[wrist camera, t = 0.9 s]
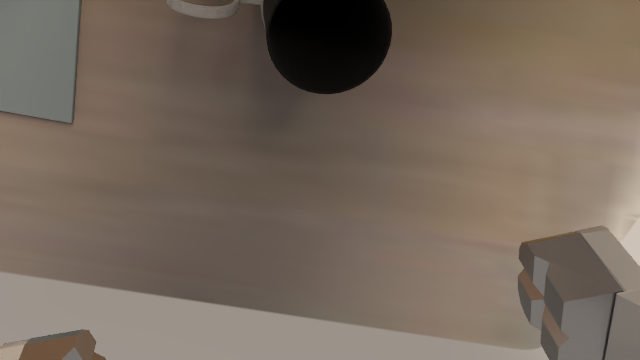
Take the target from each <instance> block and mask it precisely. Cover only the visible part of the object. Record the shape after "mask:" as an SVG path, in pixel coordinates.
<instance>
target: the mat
mask: <svg viewBox="0 0 640 360" xmlns="http://www.w3.org/2000/svg"><path fill="white" fill-rule="evenodd" d="M80 14H81V0H0V111H5V112H11V113H16V114H22V115H28V116H33V117H39V118H44V119H50V120H56V121H61V122H67V123H72V121H73V119H74V105H75V90H76V75H77V59H78V44H79V29H80Z"/></svg>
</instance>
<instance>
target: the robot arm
mask: <svg viewBox="0 0 640 360" xmlns="http://www.w3.org/2000/svg"><path fill="white" fill-rule="evenodd" d="M519 260H520V261H521V263H522V265H523V267H524V269H523V270H522V272H521V273H520V274H519V275H518V292H519V297H520V302H521V305H522V308H523V311H524V313H525V315H526V317H527V319H528V321H529V323H530V325H532V326H534V327H535V328H537V329H539V330H541V342H540V344H541V345H542V347H543V349H544V351H545V353H546V355H547V356H548V358H549V360H640V266H639V265H638V264H637V263H636V262H635V260H633V258H632V257H631V256H630V254H628V252H627V251H626V250H625V249H624V247H623V246H622V245H621V244H620V243H619V241H618V240H617V239H616V238H615V237H614V235H613V234H612V233H611V232H610V231H609V229H608V228H606V227H604V226H597V227H593V228H588V229H583V230H578V231H575V232H569V233H565V234H560V235H555V236H550V237H545V238H540V239H536V240H531V241H526V242H522V243H521V245H520V248H519ZM95 344H96V341H95V339H94V338H93V336H92V335H91V333H90V332H89V331H88V330H77V331H72V332H66V333H60V334H54V335H48V336H43V337H37V338H31V339H29V340H23V341H17V342H11V343H5V344H3V345H2V346H1V347H0V360H106V359H105V358H104V357H103V356H100V355H98V354H96V353H95V352H94V349H95Z"/></svg>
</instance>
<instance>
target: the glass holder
mask: <svg viewBox="0 0 640 360" xmlns="http://www.w3.org/2000/svg"><path fill="white" fill-rule="evenodd" d="M166 2H167V5H168V6H169V7H170V8H171V9H172V10H175V11H177V12H179V13H182V14H185V15H189V16H193V17H199V18H209V19H218V18H226V17H230V16H233V15H234V14H236V13H237V11H238V9H239V5H240V4H256V5H260V6H261V15H262V22H263V25H264V28H265V31H266V38H267V45H268V51H269V54H270V57H271V60H272V61H273V63H274V65H275V67H276V69H277V70H278V71H279V72H280V73H281V75H282V76H283V77H284V78H285V79H287V80H288V81H289V82H290V83H292V84H293V85H295V86H297V87H298V88H300V89H303V90H306V91H308V92H313V93H318V94H334V93H340V92H344V91H347V90H350V89H352V88H354V87H356V86H359V85H360V84H362V83H363V82H365V81H366V80H368V79H369V78H370V77H371V76H372V75H373V74H374V73H375V72H376V71H377V69H378V68H379V67H380V65H381V64H382V62H383V61H384V59H385V57H386V55H387V52H388V49H389V46H390V42H391V36H392V23H391V18H390V13H389V11H388V8H387V6H386V3H385V2H384V0H234V1H233V2H232V3H230V4H228V5H224V6H215V7H214V6H202V5H195V4H191V3H187V2H183V1H181V0H166ZM263 11H264V13H263Z"/></svg>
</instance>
